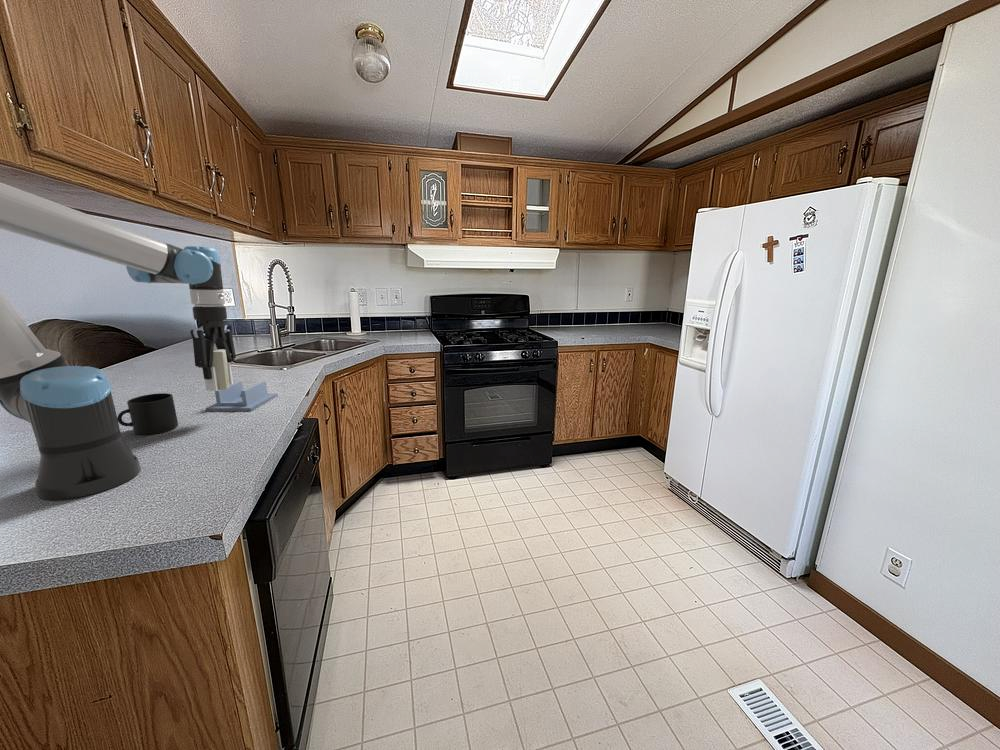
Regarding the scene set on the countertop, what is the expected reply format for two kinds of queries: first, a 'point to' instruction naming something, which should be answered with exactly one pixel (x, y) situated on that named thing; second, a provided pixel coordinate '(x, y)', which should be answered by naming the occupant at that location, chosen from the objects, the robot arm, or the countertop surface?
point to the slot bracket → (241, 397)
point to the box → (221, 368)
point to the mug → (151, 414)
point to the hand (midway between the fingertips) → (220, 386)
